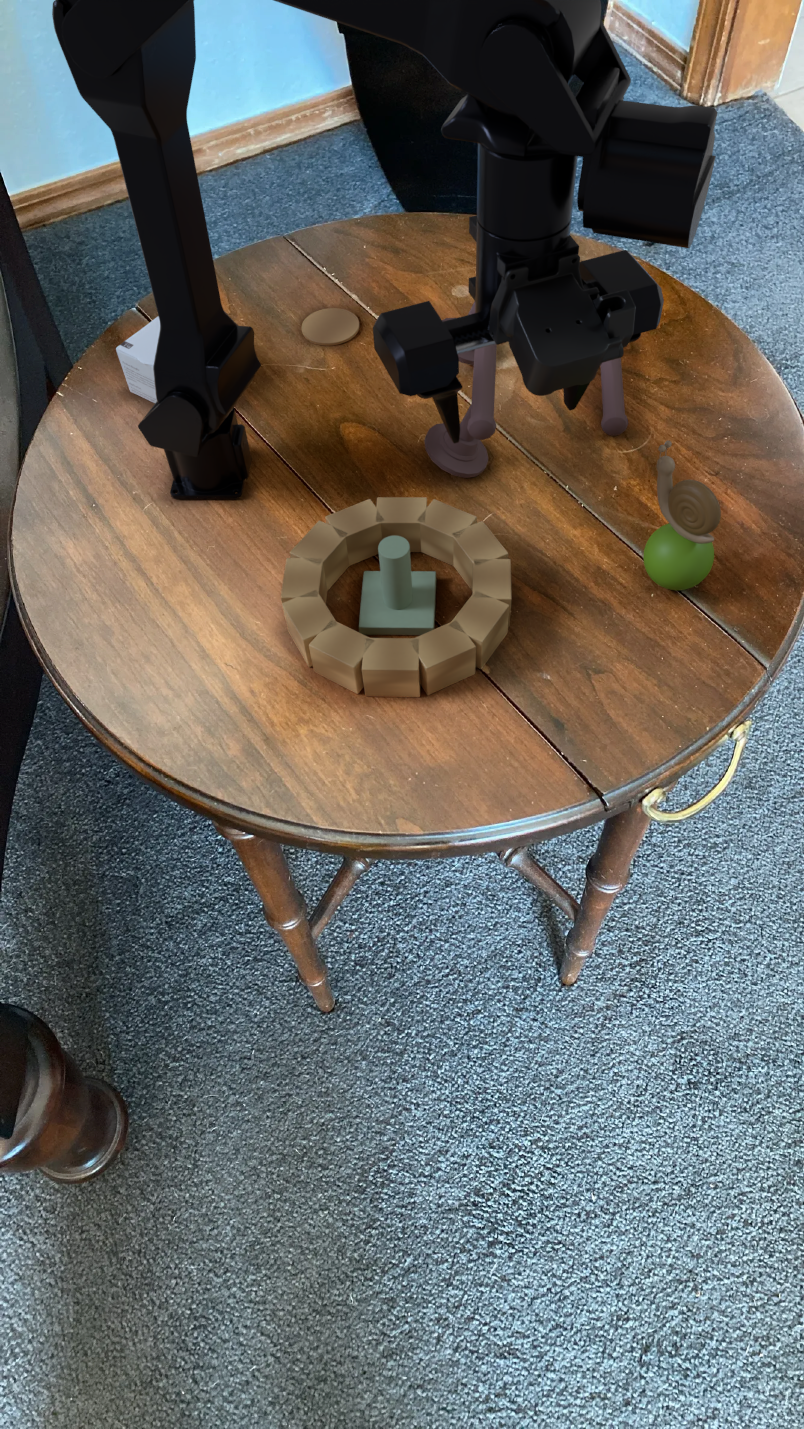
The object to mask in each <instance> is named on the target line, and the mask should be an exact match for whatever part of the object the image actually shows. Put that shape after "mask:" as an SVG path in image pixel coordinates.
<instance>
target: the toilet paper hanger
mask: <svg viewBox="0 0 804 1429" xmlns="http://www.w3.org/2000/svg"><path fill="white" fill-rule="evenodd" d="M474 313H475V301H473V304H472V306H471V308H470V310H469V311H468V314H467V315H470V314H474ZM455 318H456V317H445V318H443V319H441V320H442V321H443V322H444V321H447V320H451V319H455ZM497 347H498V346H497V344H494V345H490V346H487V347H483V348H479V349H475V350H472V351H468V352H464V353H461V354H458V358H459V363H462V364H465V365H469V366H473V371H472V372H473V373H472V388H471V389H472V390H471V404H470V405H469V407H468V409H467V411H466V413H465V415H464V416H463V417H462V420H461V421H460V437H459V442H458V443H455V444H454V443H453V442H452V440H451V438H450V436H449V434H448V432H447V430H446V428H445V425H444V423H443V422H442V423H440V422H439V423H436V424H434V425H432V426H431V427H430V428H428V430H427V432H426V435H425V437H424V440H423V442H424V449H425V452H426V453H427V456H428V457H429V459H430V460H431V461H432V462H433V463H434V464H435V465H436V466H437V467H438V468H440V469H441V470H442V471H445V472H446V473H448V474H450V475H452V476H455V477H458V478H459V477H460V478H465V479H469V478H475V477H477V476H479V475H480V474H482V473H483V472H484V471H485V470H486V468H487V465H488V462H489V455H488V450H487V448H486V446H485V445H484V444H483V442H482V441H484V440H488V439H490V438H491V437H492V436H493V435H494V434H495V433H496V429H497V422H496V420H495V400H496V399H495V398H496V397H495V396H496V395H495V394H496V374H497V373H496V371H497V370H496V369H497ZM599 368H600V381H601V382H600V384H601V400H602V401H601V402H602V403H601V404H602V418H601V422H600V427H601V430H602V432H604V433H605V434H607V435H608V436H612V437H613V436H614V437H615V436H620V435H621V434H623V433H624V432H626V430H627V428H628V425H629V420H628V416H627V415H626V410H625V396H624V395H625V394H624V383H623V382H624V381H623V380H624V379H623V368H622V357H621V358H618V359H614V360H610V361H607V362H603V363H602V364H601V365H600V367H599Z"/></svg>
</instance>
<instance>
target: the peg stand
mask: <svg viewBox="0 0 804 1429" xmlns="http://www.w3.org/2000/svg"><path fill="white" fill-rule="evenodd" d="M378 551H379V554H378V559H379V570H364V571H363V576H362V587H361V596H360V608H359V616H358V617H359V618H358V632H359V633H361V634H363V635H365V636H420V635H423V634H425V633H427V632H429V631H432V630H434V629H435V624H436V599H437V598H436V597H437V596H436V595H437V571H435V570H427V571H424V570H423V571H422V570H413V571H412V560H411V552H410V545H409V542H408V541H407V540H406V539H405V538H403V537H401V536H388V537H386V538H384V539H383V540H382V541H381V542H380V543H379V546H378Z"/></svg>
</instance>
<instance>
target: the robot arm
mask: <svg viewBox="0 0 804 1429" xmlns="http://www.w3.org/2000/svg"><path fill="white" fill-rule="evenodd" d="M273 1H274V2H277V3H280V4H283V5H285V6H289V7H291V8H293V9H294V8H295V9H297V10H301V11H303V12H305V13H309V14H311V15H314V16H318V17H320V18H324V19H327V20H330V21H333V22H336V23H338V24H342V25H344V26H348V27H350V28H353V29H355V30H356V29H357V30H359V31H363V32H364V33H368V34H371V35H374V36H376V37H380V38H383V39H386V40H389V41H390V42H394V43H397V44H400V45H402V46H405V47H407V48H408V49H410V50H412V51H413V52H415V53H417V54H419V55H421V56H422V57H424V59H426V60H427V61H428V62H429V64H430V65H431V66H432V67H433V68H434V69H435V70H436V71H437V73H439V74H440V76H441V77H442V78H443V79H444V80H445V81H446V82H447V83H448V84H449V85H450V86H452V87H454V88H455V89H457V90H458V91H460V92H462V93H463V94H466V95H465V96H464V97H462V98H461V99H460V100H459V101H458V103H457V104H456V106H455V108H454V109H453V110H452V112H451V113H450V114H449V116H448V117H447V118H446V120H445V121H444V123H443V124H442V126H441V129H440V132H441V135H442V136H443V137H444V138H445V139H448V140H454V141H462V142H469V143H475V144H477V177H476V178H477V180H476V182H477V183H476V184H477V185H476V187H477V188H476V215H472V216H469V217H468V218H469V219H468V232H469V233H468V234H470V236H471V237H472V239H473V240H474V242H475V275H474V276H472V277H468V293H469V295H470V297H471V298H472V299H473V302H475V313H474V314H470V315H468V314H467V315H463V316H459V317H454V318H455V319H451V320H447V321H444V322H443V321H442V320H443V319H442V318H441V317H440V315H439V314H438V312H437V310H436V309H435V307H434V306H433V304H432V302H431V301H430V300H426V301H423V302H418V303H415V304H411V305H407V306H403V307H399V308H395V309H392V310H387V311H384V312H381V313H380V314H379V316H377V319H376V320H375V322H374V325H373V327H372V336H373V346H374V347H373V349H374V351H375V353H376V354H377V356H378V358H379V360H380V362H381V363H382V365H383V366H384V368H385V370H386V372H387V374H388V375H389V377H390V379H391V381H392V382H393V384H394V386H395V388H396V389H397V392H398V393H399V394H401V395H404V396H408V397H414V396H417V397H418V398H421V399H424V400H428V399H432V400H433V403H434V405H435V407H436V409H437V412H438V415H439V416H440V418H441V420H442V423H444V425H445V428H446V430H447V432H448V434H449V436H450V438H451V440H452V442H453V443H454V444H455V443H458V442H459V437H460V423H461V421H460V420H461V419H460V410H459V409H460V408H459V397H458V392H460V391H461V390H462V389H463V384H462V383H461V381H460V380H459V378H458V375H459V373H460V362H459V358H458V354H461V353H464V352H468V351H472V350H475V349H479V348H483V347H487V346H490V345H494V344H497V345H498V346H499V345H501V344H505V343H508V346H509V349H510V351H511V353H512V356H513V358H514V360H515V363H516V365H517V368H518V369H519V372H520V374H521V377H522V383H523V385H524V387H525V388H526V390H527V391H528V392H529V393H530V394H532V395H535V396H539V397H543V396H548V395H551V394H554V392H557V391H560V390H562V393H563V394H562V395H563V403H564V406H565V407H566V408H567V410H568V411H574V410H576V408H577V406H578V405H579V403H580V401H581V400H582V398H583V396H584V394H585V393H586V391H587V389H588V387H589V386H590V383H591V382H593V381H594V380H595V378H596V377H597V373H598V371H599V370H600V368H601V367H600V365H601V364H602V363H603V362H607V361H610V360H614V359H618V358H621V359H622V358H623V357H624V352H625V351H624V348H626V347H628V345H629V344H631V343H634V342H636V341H638V340H639V339H640V338H641V336H642V334H643V333H647V332H650V331H654V330H657V328H658V326H659V325H660V322H661V318H662V313H663V309H664V308H663V307H664V303H665V302H664V301H665V300H664V295H663V289H662V287H661V286H660V285H659V284H658V282H657V281H656V280H655V279H654V278H653V276H651V274H649V272H648V271H647V270H646V269H645V268H644V267H643V266H642V265H641V263H640V262H639V261H638V260H637V259H636V258H635V257H634V256H633V255H632V254H631V253H630V252H629V251H628V250H627V249H623V250H619V251H616V252H611V253H608V254H604V255H600V256H595V257H592V258H588V259H584V260H581V257H580V255H579V252H580V245H579V244H578V243H577V241H576V240H575V239H574V238H573V237H572V235H571V228H572V220H573V210H574V209H573V208H574V200H575V199H574V198H575V187H576V179H577V169H578V158H579V157H581V158H582V161H581V162H582V163H581V170H580V175H579V181H578V190H577V200H576V202H577V210H578V211H579V212H582V227H583V228H585V229H590V230H591V231H592V233H593V234H597V235H603V236H610V237H615V238H621V239H628V240H635V241H640V242H647V243H653V244H658V245H665V246H670V247H671V246H672V247H678V248H684V249H690V248H691V246H692V245H693V243H694V240H695V237H696V234H697V231H698V228H699V224H700V221H701V218H702V215H703V211H704V208H705V203H706V200H707V195H708V192H709V188H710V184H711V181H712V180H711V179H712V176H713V172H714V167H715V162H716V155H713V152H714V146H715V140H716V133H715V128H716V122H717V118H718V111H717V110H716V107H712V106H710V107H709V106H704V105H703V106H702V105H686V106H685V105H684V106H670V105H663V104H656V103H655V104H654V103H646V102H638V101H631V100H624V97H625V96H626V95H625V94H626V93H627V91H628V90H629V87H630V85H631V83H632V78H631V76H630V74H629V72H628V70H627V68H626V66H625V64H624V62H623V60H622V58H621V56H620V55H619V52H618V50H617V48H616V46H615V44H614V42H613V40H612V37H611V36H610V35H609V32H608V30H607V28H606V26H605V24H604V22H603V20H602V18H601V17H602V16H601V15H602V2H601V0H273ZM195 10H196V9H195V0H53V1H52V11H51V17H52V21H53V29H54V32H55V35H56V38H57V41H58V44H59V46H60V49H61V51H62V54H63V57H64V59H65V61H66V64H67V66H68V68H69V69H68V70H69V72H70V74H71V77H72V79H73V81H74V84H75V86H76V88H77V91H78V93H79V96H80V97H81V98H82V100H83V101H85V102H86V104H87V105H88V106H89V107H90V108H91V109H92V110H93V112H94V113H95V114H96V115H97V117H99V118H100V120H102V122H103V123H104V124H105V125H106V127H108V128H109V130H110V132H111V135H112V138H113V141H114V144H115V149H116V152H117V157H118V160H119V165H120V168H121V171H122V176H123V181H124V184H125V189H126V192H127V196H128V201H129V204H130V208H131V213H132V216H133V220H134V224H135V228H136V232H137V236H138V239H139V244H140V248H141V252H142V256H143V259H144V260H143V261H144V263H145V267H146V271H147V275H148V276H147V277H148V279H149V283H150V287H151V292H152V296H153V299H154V305H155V307H156V311H157V315H158V316H159V320H160V333H159V338H158V344H157V349H156V355H155V360H154V366H153V370H154V381H155V391H156V399H157V402H156V403H153V404H154V405H152V407H151V408H150V409H149V411H148V412H147V413H146V414H145V416H144V417H143V418H142V419H141V421H140V422H139V423H138V425H137V428H138V430H139V431H140V433H141V434H142V436H143V437H144V439H145V441H146V442H147V443H148V444H149V446H151V447H152V448H153V447H154V448H157V449H162V450H163V451H164V454H165V459H166V461H167V464H168V468H169V470H170V472H171V476H172V482H171V487H170V491H169V493H170V497H171V498H172V499H175V500H194V499H195V500H199V499H200V500H237V499H240V498H241V497H242V496H243V492H244V487H245V482H246V480H248V478H249V477H250V472H251V468H252V463H253V457H252V453H251V448H250V444H249V439H248V436H247V431H246V427H245V425H244V424H242V423H241V424H240V423H238V418H237V414H236V410H235V406H236V405H237V404H238V402H239V401H240V400H241V399H242V397H243V395H245V393H246V391H247V390H248V389H249V388H250V386H251V384H252V383H253V381H254V380H255V376H256V374H257V372H258V371H259V370H260V369H261V367H262V363H261V361H260V359H259V358H258V355H257V352H256V349H255V330H254V328H253V327H252V326H247V325H239V324H238V323H237V322H236V321H235V320H234V319H233V318H232V317H231V316H230V315H229V314H228V313H227V312H226V311H225V310H224V308H223V304H222V299H221V293H220V289H219V284H218V278H217V272H216V268H215V262H214V257H213V251H212V246H211V241H210V237H209V231H208V225H207V220H206V214H205V211H204V204H203V198H202V192H201V188H200V183H199V178H198V171H197V168H196V161H195V156H194V150H193V145H192V141H191V135H190V130H189V124H188V106H189V100H190V96H191V90H192V84H193V78H194V72H195V66H196V60H197V46H196V44H197V40H196V14H195V12H196V11H195ZM575 76H576V77H577V78H578V80H580V81H581V82H582V84H581V86H580V88H579V90H578V92H577V93H576V95H574V93H573V91H572V89H571V87H570V86H569V84H570V83H571V81H572V79H573V78H574V77H575ZM158 316H157V317H158Z"/></svg>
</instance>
